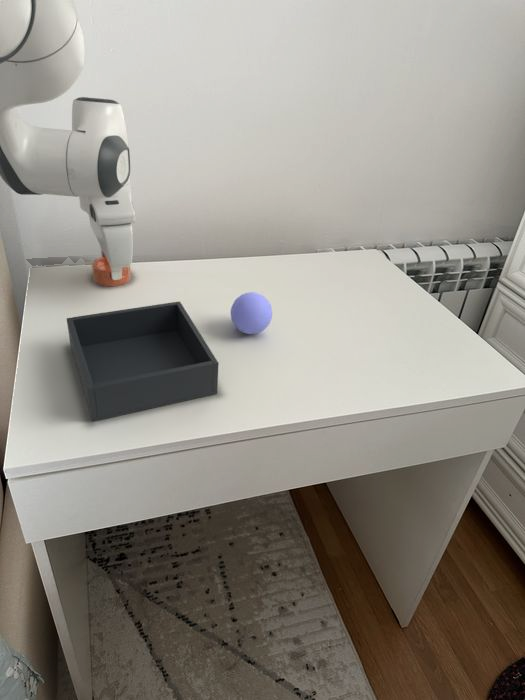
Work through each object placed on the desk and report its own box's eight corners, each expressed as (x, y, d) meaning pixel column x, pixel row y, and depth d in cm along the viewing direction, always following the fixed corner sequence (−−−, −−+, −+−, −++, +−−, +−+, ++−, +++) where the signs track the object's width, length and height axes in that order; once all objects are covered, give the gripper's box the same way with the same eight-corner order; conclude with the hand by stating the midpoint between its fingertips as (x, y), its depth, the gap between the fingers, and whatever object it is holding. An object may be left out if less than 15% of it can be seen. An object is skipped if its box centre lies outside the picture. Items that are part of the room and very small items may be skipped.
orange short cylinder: (97, 288, 99) (96, 274, 97) (90, 272, 104) (89, 258, 102) (134, 283, 101) (133, 269, 100) (125, 267, 106) (124, 254, 104)
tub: (92, 422, 70) (87, 389, 67) (70, 348, 83) (66, 318, 80) (217, 393, 77) (218, 362, 74) (180, 330, 90) (179, 301, 86)
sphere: (253, 347, 87) (256, 310, 83) (221, 330, 91) (222, 294, 87) (278, 330, 92) (282, 295, 88) (247, 315, 95) (249, 280, 91)
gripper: (77, 179, 100) (85, 247, 108) (98, 220, 85) (105, 296, 93) (111, 177, 102) (116, 244, 110) (137, 217, 87) (141, 291, 95)
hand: (111, 268), depth 101 cm, fingers closed on orange short cylinder, 7 cm apart
